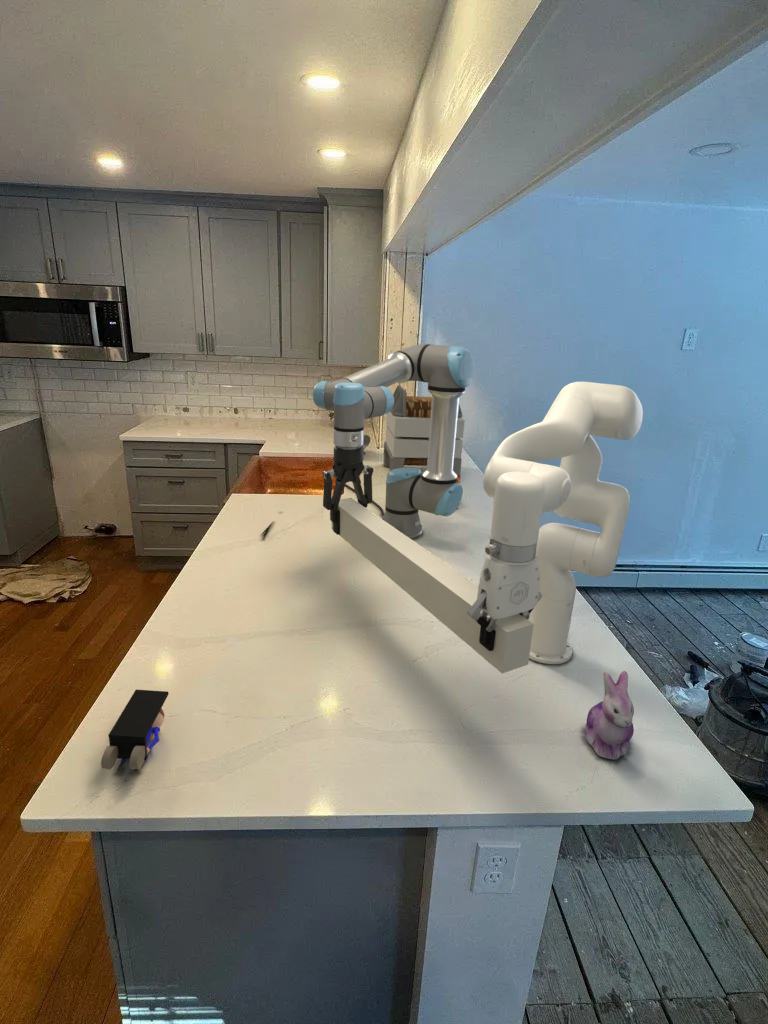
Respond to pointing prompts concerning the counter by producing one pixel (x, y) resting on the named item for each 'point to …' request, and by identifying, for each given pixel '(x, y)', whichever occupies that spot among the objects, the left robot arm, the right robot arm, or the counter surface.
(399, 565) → the bar
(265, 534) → the feather
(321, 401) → the left robot arm
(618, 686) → the figurine
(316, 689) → the counter surface
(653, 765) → the counter surface
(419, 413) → the grey slatted crate
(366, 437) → the fossil
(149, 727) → the figurine character
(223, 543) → the counter surface
